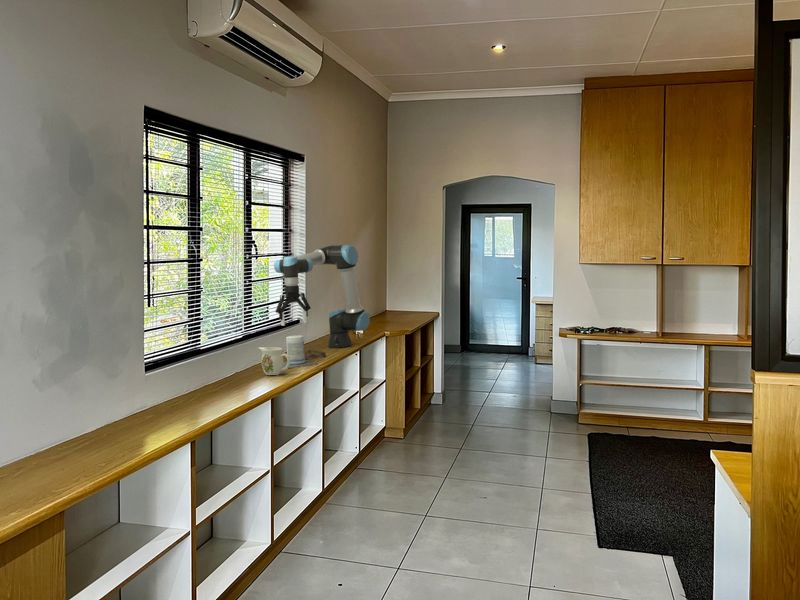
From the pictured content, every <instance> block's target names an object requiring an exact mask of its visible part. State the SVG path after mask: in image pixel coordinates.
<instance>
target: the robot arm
mask: <svg viewBox="0 0 800 600" xmlns="http://www.w3.org/2000/svg"><path fill="white" fill-rule="evenodd" d="M358 260H359V252H358V250H357V248H355V246H353V245H351V244H337V245H334V244H332V245H327V246H324V247H321V248H317V249H315V250H313V252H309V253H305V254H300V255H297V256H295V255H294V256H284V257H283V259H282V258H281V259H277V260H275V261H274V264H273V268H274V269H273V270H274V271H275V272H276V273H279V274H283V276H284V285H285V286H284V292H285V295H284V294H281V295H280V296H279V301H278V304H277V306H276V309H275V314H276V313H277V314H278V317H279V320H280V326H283V327H284V326H286V324H285V322H286V321H285V313H284V312H285V310H286V309H287V307H288V306H289V304H291V303H297V304H298V305H299V306H300V307H301V308H302V309H303V310H302V319H303V320H302V321H303V323H305V324H307V322H308V319H307V317H308V315H309V314H308V312H309V310H311V306H310V303H309V302H308V300H307V298H306V294H305V293H304V292H300V286H299V284H300V283H299V282H300V281H299V274H303V273H304V274H306V273H309V272H311V271H313V268H314V266H316V265H317V266H323V265H332V266H333V265H334V266H336V270H337V271H339V273H340V278H341V283H342V288H343V294H344V298H345V304H346V308H342V309H336V310H331V311H330V312H329V313H328V321H329V336H328V341H327V348H330V347H331V349H340V347H344V348H350V347H352V345H353V343H352V339H351V337H350V334H349V333H350V332H349V331H357V332H360V331H365V330H367V328H368V327H369V325H370V322H371V321H370V319H371V317H370V314H369V313H368V312H367V311H365V307H364V306H363V305H362V304H361V300H360V294H359V293H360V292H359V289H358V282H357V278H356V273H355V268H356V266H357V263H358ZM301 300H302V301H301ZM349 346H350V347H349Z"/></svg>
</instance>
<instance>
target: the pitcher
mask: <svg viewBox="0 0 800 600" xmlns="http://www.w3.org/2000/svg"><path fill="white" fill-rule="evenodd" d="M257 349H259V350H260V351H261V353H262V356H261V359H260V361H261V367H262V370H263V372H264V374H265V376H267V375H277V376H280V375H281V373H282V372H284V371H286V370H287V369H288V367H289V365H290V358H289V356H288V355H287V353H282V352H283V348H282V347H277V346H276V347H274V346H272V347H271V346H267V347H266V346H265V347H264V346H262V347H261V346H260V347H257ZM284 357H285V358H286V362H287V365H286V367H283V362H285V361H284ZM279 374H280V375H279Z"/></svg>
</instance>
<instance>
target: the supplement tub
mask: <svg viewBox="0 0 800 600" xmlns="http://www.w3.org/2000/svg"><path fill="white" fill-rule="evenodd" d="M304 339H305V338H304V335H289V336H286V339H285V344H286V347H285V348H286V354H287V355H288V356H289V358H290V364H302V363H304V362H305V352H304V351H305V340H304Z"/></svg>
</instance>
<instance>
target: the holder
mask: <svg viewBox="0 0 800 600" xmlns="http://www.w3.org/2000/svg"><path fill="white" fill-rule="evenodd" d="M304 352H305V360H306V359H307V360H313V358H314V359H318V357H320V358H324V356H327V355H326V352H325V351H322V350H316V349H313V348H312V349H304Z"/></svg>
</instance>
